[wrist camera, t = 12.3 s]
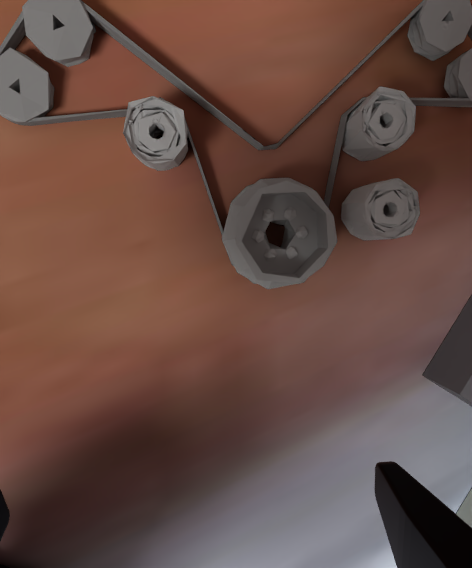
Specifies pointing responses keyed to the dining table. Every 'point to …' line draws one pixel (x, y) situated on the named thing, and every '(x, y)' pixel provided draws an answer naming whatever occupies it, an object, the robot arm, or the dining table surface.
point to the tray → (466, 510)
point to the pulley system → (265, 192)
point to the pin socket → (455, 358)
